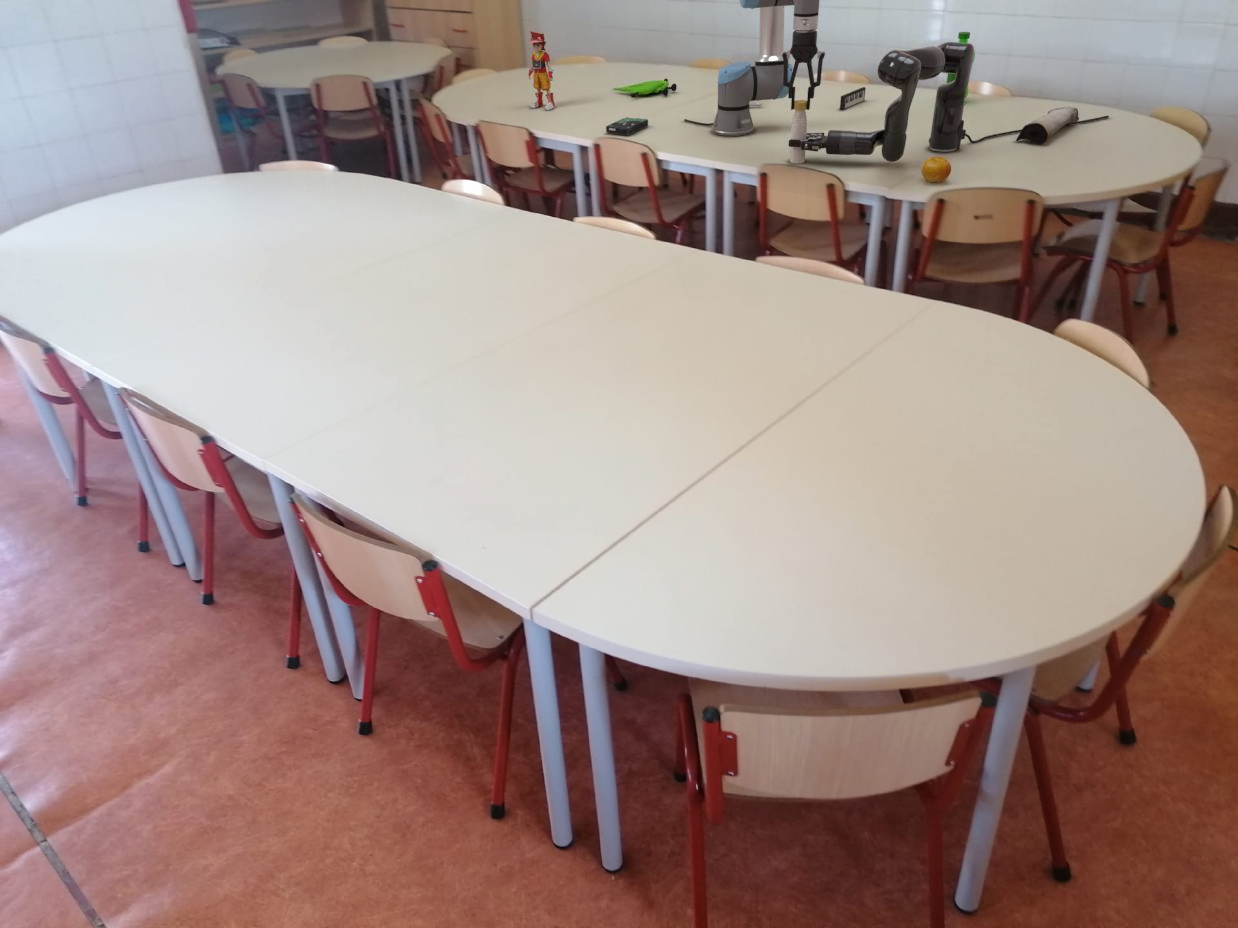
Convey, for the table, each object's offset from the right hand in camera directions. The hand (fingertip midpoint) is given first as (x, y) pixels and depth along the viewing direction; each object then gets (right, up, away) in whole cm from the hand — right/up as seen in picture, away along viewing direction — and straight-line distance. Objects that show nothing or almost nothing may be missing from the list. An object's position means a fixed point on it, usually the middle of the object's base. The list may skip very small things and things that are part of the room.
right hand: (790, 141), depth 299 cm
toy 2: (-48, +57, +98) cm, 123 cm away
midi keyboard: (+36, +36, +60) cm, 79 cm away
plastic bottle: (+76, +36, +56) cm, 101 cm away
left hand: (+2, +8, -7) cm, 11 cm away
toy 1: (-90, +45, +84) cm, 131 cm away
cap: (+2, +10, -8) cm, 12 cm away
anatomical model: (-5, +40, +70) cm, 81 cm away
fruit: (+41, -20, -21) cm, 50 cm away
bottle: (+3, -6, +3) cm, 7 cm away
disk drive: (-54, +21, +47) cm, 75 cm away
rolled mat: (+93, +8, +14) cm, 94 cm away
